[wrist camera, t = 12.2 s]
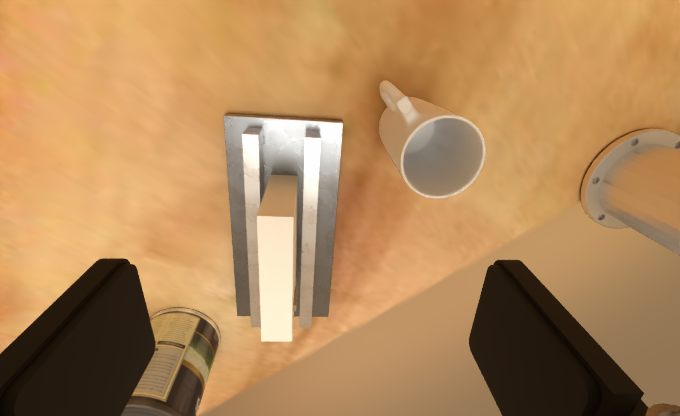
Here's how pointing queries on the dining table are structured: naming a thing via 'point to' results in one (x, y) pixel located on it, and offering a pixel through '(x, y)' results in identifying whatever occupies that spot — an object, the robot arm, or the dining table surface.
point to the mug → (430, 144)
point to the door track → (313, 202)
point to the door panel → (278, 257)
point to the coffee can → (176, 365)
